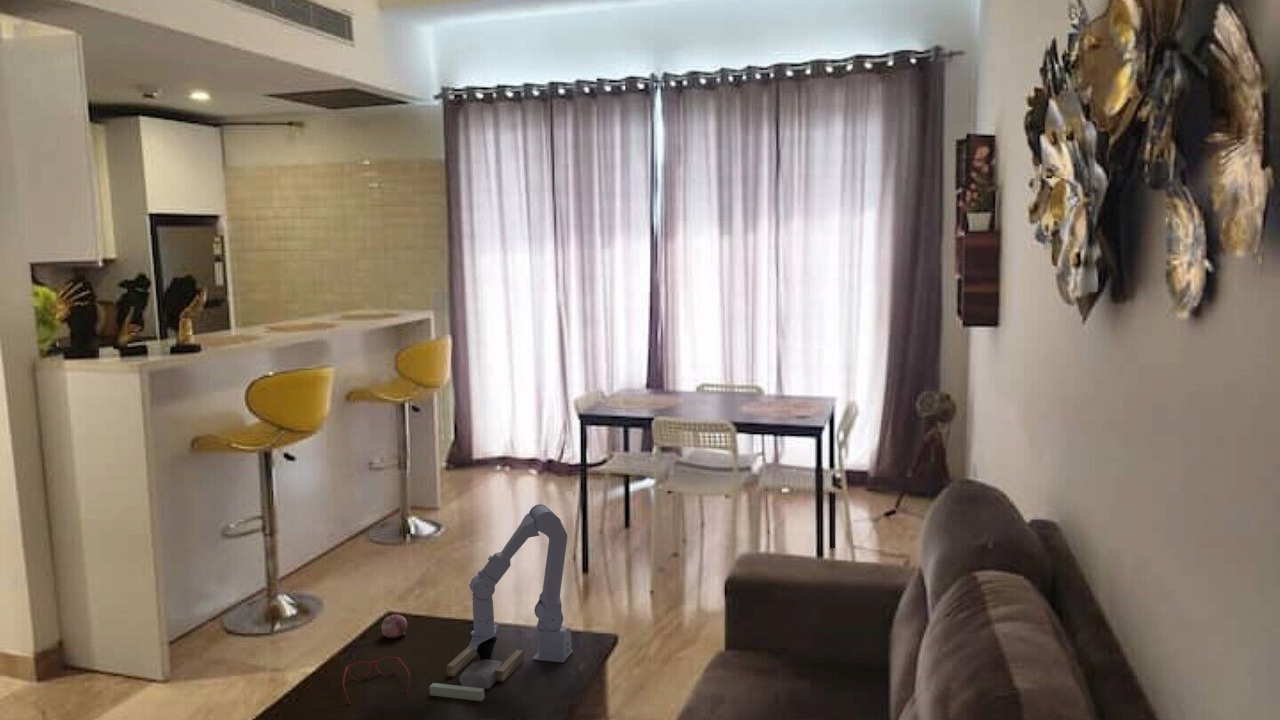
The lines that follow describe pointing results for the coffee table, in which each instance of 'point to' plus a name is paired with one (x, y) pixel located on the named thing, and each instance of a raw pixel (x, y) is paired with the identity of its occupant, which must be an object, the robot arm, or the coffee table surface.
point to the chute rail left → (460, 661)
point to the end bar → (457, 692)
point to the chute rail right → (509, 665)
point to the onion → (394, 626)
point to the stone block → (480, 674)
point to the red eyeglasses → (376, 668)
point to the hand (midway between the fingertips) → (486, 663)
